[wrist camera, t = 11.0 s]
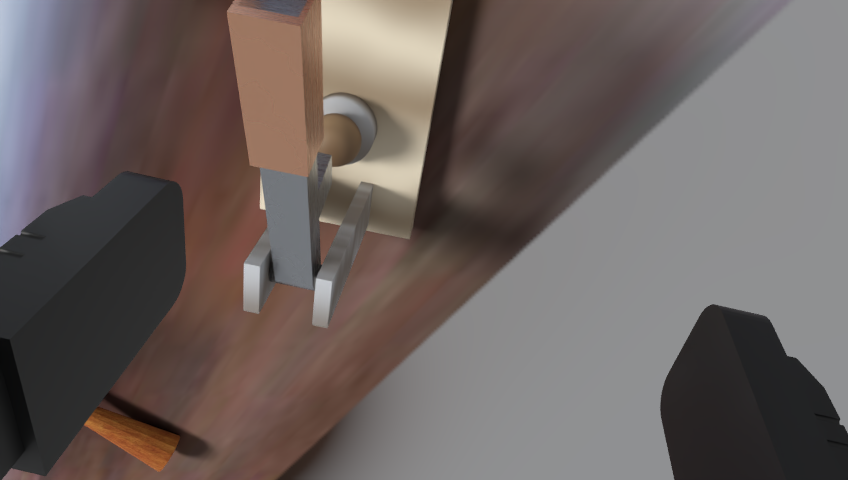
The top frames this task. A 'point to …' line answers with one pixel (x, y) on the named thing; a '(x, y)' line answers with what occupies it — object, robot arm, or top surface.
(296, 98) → the lever
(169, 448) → the two-tone long tapered part
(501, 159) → the top surface
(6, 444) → the robot arm
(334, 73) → the base
